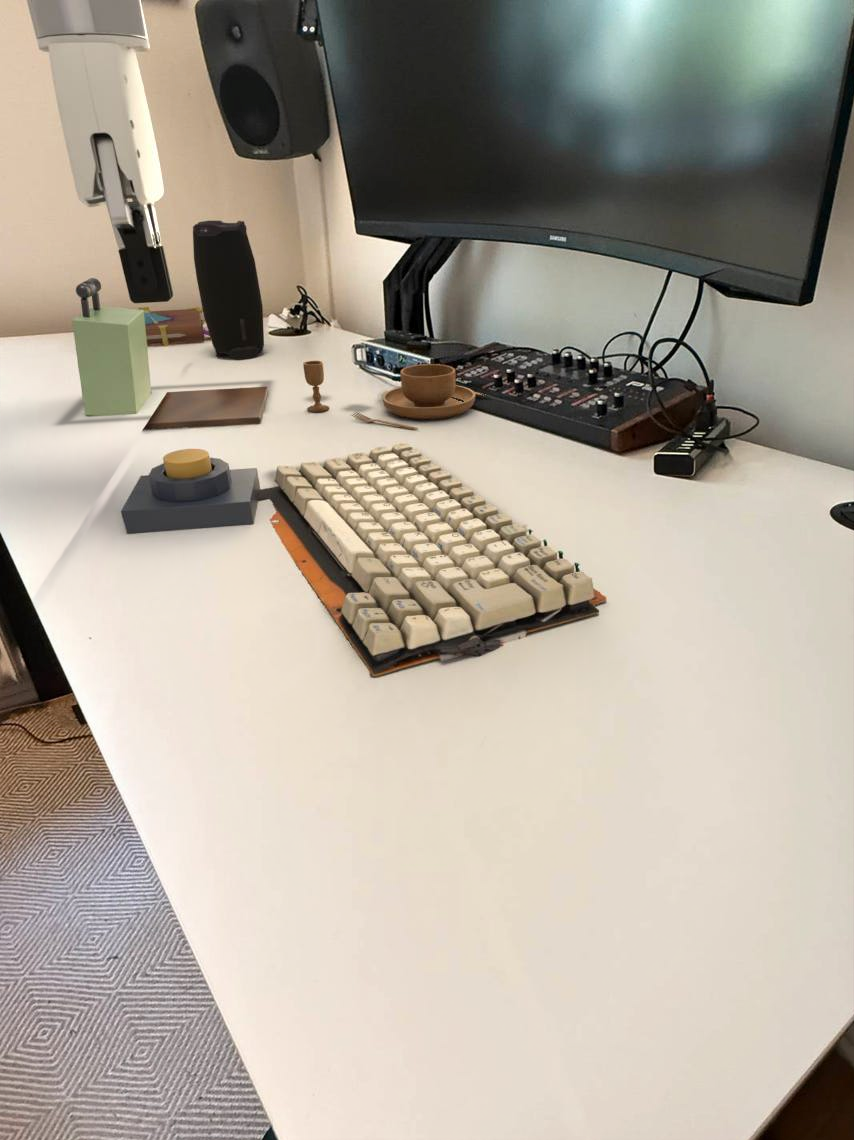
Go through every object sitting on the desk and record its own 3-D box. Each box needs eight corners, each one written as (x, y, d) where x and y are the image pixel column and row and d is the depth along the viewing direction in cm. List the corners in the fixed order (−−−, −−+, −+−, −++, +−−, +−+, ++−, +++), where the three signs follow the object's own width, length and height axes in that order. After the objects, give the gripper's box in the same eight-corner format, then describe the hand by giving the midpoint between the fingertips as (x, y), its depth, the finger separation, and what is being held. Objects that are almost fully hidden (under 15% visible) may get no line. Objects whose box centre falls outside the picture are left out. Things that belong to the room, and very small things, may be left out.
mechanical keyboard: (242, 496, 79) (237, 463, 78) (419, 465, 87) (417, 434, 85) (379, 692, 51) (375, 647, 49) (625, 621, 58) (629, 580, 56)
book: (231, 346, 142) (226, 316, 139) (82, 357, 136) (73, 326, 133) (227, 324, 155) (223, 296, 152) (91, 333, 149) (83, 305, 146)
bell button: (163, 483, 72) (159, 464, 71) (170, 468, 75) (166, 449, 74) (209, 480, 72) (205, 461, 71) (214, 465, 75) (211, 447, 74)
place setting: (430, 433, 94) (428, 383, 91) (300, 412, 103) (293, 364, 100) (501, 398, 107) (501, 352, 104) (380, 381, 116) (376, 338, 113)
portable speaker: (215, 350, 135) (191, 220, 125) (271, 348, 136) (252, 218, 126) (207, 361, 128) (182, 224, 118) (267, 359, 129) (246, 222, 119)
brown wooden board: (65, 435, 96) (63, 428, 96) (95, 401, 109) (93, 395, 108) (260, 423, 99) (259, 416, 99) (268, 392, 112) (267, 386, 111)
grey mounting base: (126, 534, 71) (115, 491, 69) (146, 496, 78) (136, 457, 76) (253, 524, 72) (246, 482, 70) (260, 488, 80) (253, 449, 78)
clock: (82, 415, 97) (64, 285, 90) (101, 393, 106) (86, 274, 98) (137, 418, 99) (123, 291, 91) (152, 397, 107) (140, 279, 100)
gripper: (63, 38, 63) (124, 290, 72) (-1, 10, 50) (83, 319, 60) (162, 37, 64) (209, 286, 73) (123, 8, 51) (186, 313, 61)
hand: (152, 300), depth 67 cm, fingers closed
